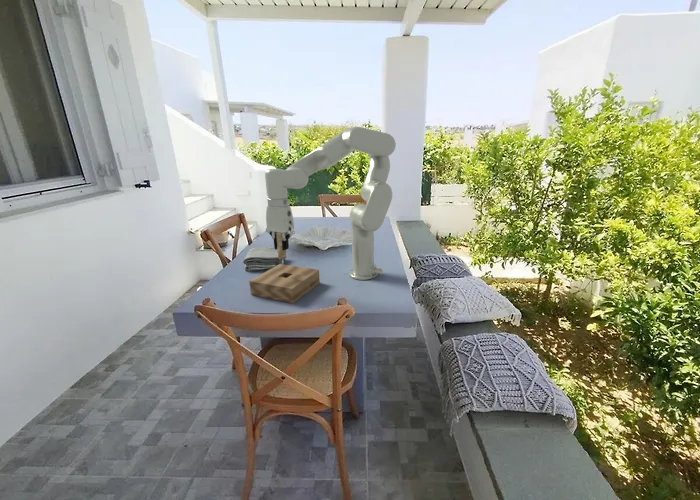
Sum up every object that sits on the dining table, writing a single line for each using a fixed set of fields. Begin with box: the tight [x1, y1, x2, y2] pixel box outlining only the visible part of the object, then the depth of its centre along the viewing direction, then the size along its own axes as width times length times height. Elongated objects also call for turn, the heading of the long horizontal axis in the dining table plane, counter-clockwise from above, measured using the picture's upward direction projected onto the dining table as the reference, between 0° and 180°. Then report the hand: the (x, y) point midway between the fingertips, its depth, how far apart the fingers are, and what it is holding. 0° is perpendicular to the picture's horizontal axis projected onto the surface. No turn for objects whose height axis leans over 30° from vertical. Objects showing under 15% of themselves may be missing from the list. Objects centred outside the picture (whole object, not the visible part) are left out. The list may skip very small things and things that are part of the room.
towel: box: [242, 246, 285, 272], centre depth 160 cm, size 15×18×8 cm
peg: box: [276, 232, 287, 259], centre depth 127 cm, size 3×3×11 cm
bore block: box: [248, 263, 321, 304], centre depth 132 cm, size 20×20×6 cm
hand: (281, 248), depth 127 cm, fingers closed on peg, 3 cm apart
